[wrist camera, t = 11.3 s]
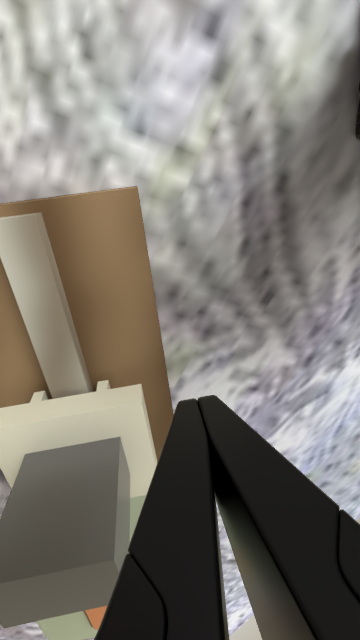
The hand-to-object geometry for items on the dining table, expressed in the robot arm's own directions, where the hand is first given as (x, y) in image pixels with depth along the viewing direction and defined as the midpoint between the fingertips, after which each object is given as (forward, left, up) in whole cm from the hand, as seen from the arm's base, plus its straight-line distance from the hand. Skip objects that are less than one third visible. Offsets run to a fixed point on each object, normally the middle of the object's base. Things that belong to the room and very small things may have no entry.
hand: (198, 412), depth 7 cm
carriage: (+6, +9, -9) cm, 14 cm away
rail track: (+6, +9, -12) cm, 16 cm away
